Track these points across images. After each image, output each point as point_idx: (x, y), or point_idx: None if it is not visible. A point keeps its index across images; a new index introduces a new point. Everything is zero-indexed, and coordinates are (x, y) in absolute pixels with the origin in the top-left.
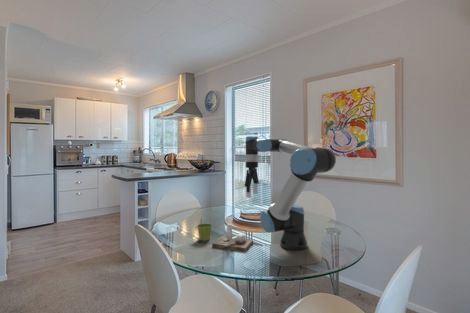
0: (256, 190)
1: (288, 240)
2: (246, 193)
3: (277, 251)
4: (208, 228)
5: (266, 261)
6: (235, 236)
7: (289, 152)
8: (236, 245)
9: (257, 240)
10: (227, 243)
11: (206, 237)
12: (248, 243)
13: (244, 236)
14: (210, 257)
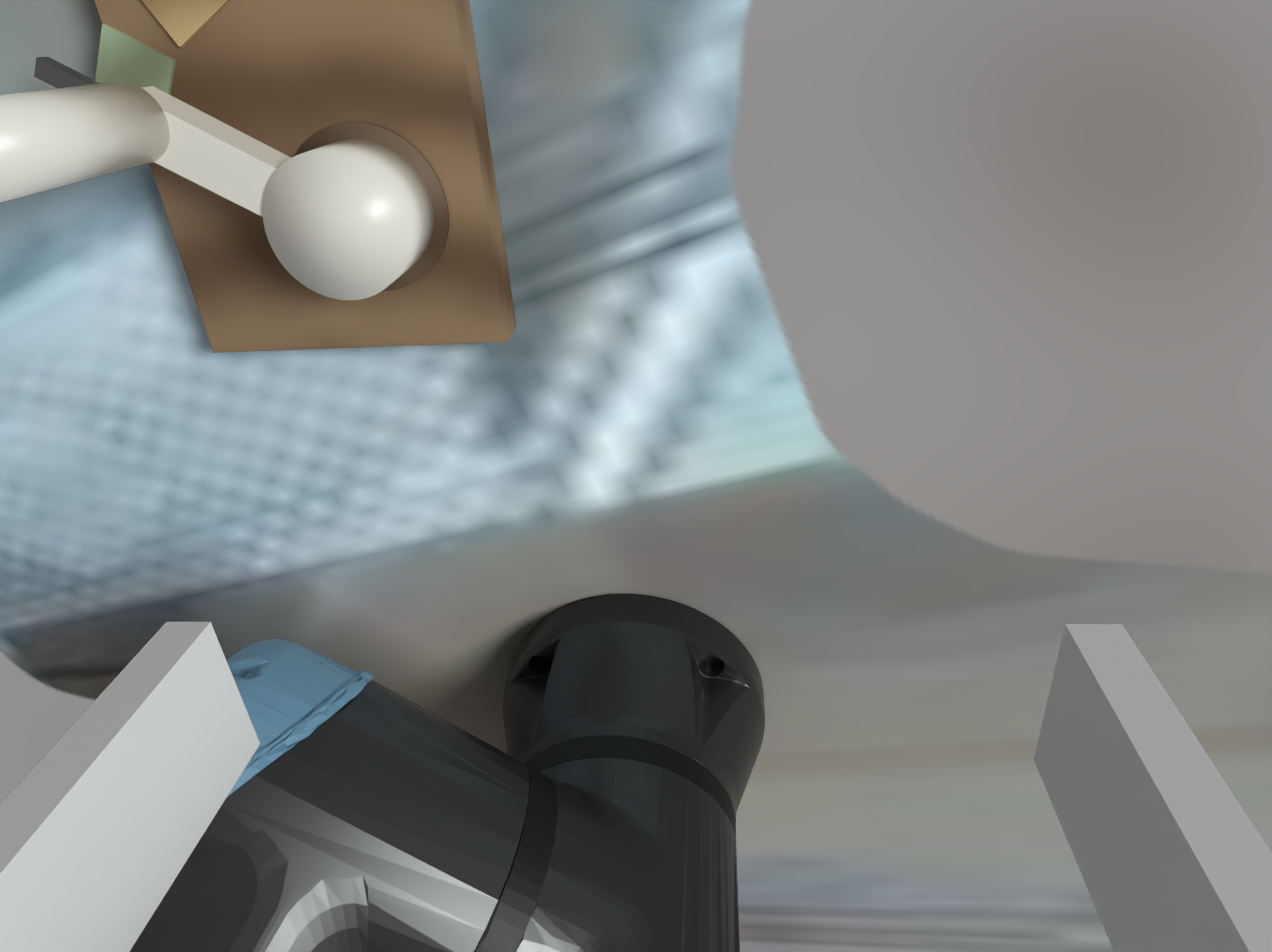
0: (1094, 867)
1: (506, 733)
2: (70, 740)
3: (425, 602)
4: None
5: (176, 569)
6: (262, 167)
7: None
8: (210, 220)
9: (628, 346)
10: (192, 63)
11: None
12: (356, 334)
13: (332, 296)
14: None
